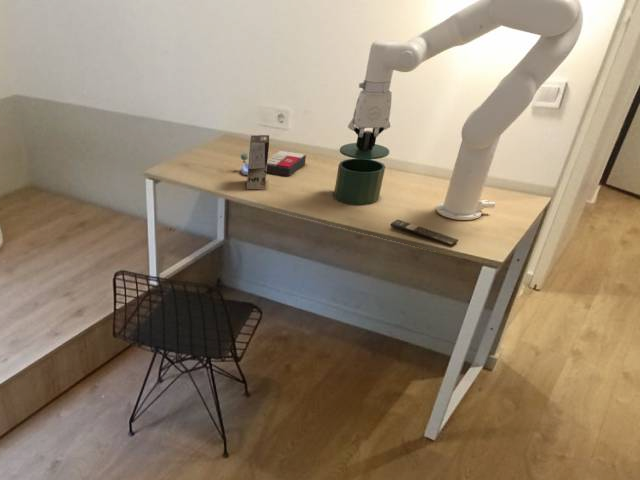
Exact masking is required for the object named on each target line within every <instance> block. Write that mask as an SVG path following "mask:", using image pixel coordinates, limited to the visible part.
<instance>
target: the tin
mask: <svg viewBox="0 0 640 480" xmlns="http://www.w3.org/2000/svg"><path fill="white" fill-rule="evenodd" d="M337 167H338V168H337V173H336V179H335V186H334V191H333V197H334V199H335V200H337V201H339V202H340V203H343V204H347V205H356V206H363V205H364V206H365V205H372V204H374V203H377V201H379V197H380V195H381V191H382V190H381V189H382V186H383V180H384V176H385V170H386V165H385V164H384V163H383V162H380V161H378V160H376V159H357V158H349V159H344V160H341V161H340V162H339V164H338V166H337Z"/></svg>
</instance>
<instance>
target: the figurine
mask: <svg viewBox="0 0 640 480" xmlns="http://www.w3.org/2000/svg"><path fill="white" fill-rule="evenodd" d="M240 159H241V160H242V162H243V164H242V166H241V167H240V173H241V174H242V175H243V176H248V164H249V162H247V161H246V160H248V159H249V156H248V153H247V152H242V153H241V155H240Z"/></svg>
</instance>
